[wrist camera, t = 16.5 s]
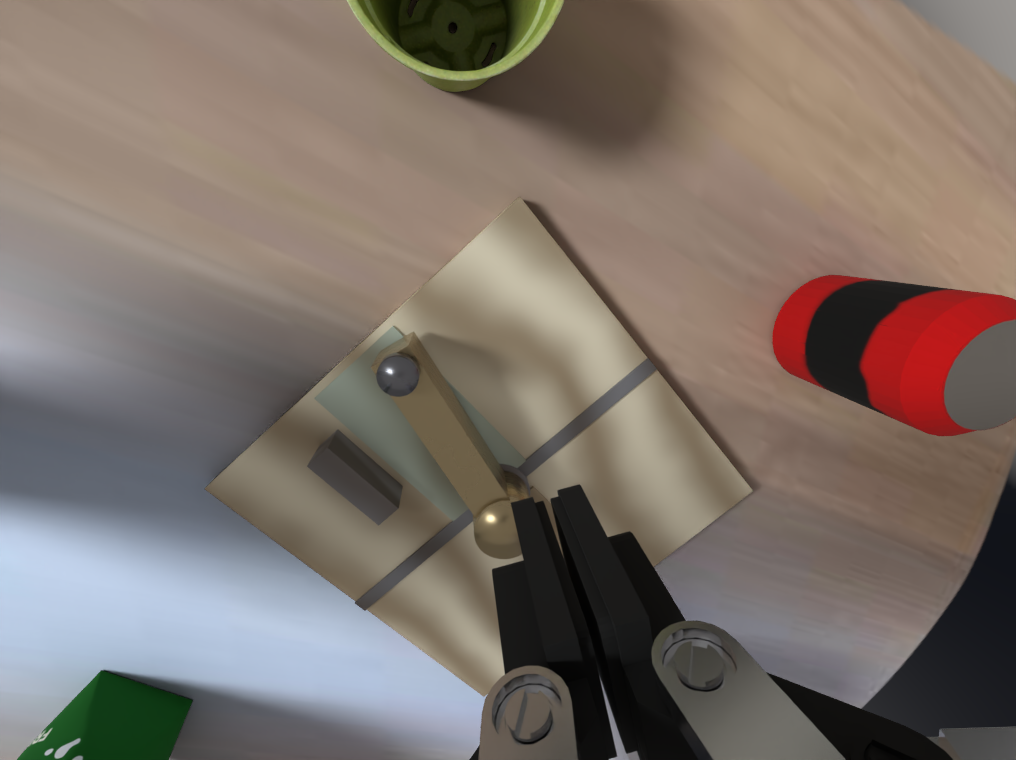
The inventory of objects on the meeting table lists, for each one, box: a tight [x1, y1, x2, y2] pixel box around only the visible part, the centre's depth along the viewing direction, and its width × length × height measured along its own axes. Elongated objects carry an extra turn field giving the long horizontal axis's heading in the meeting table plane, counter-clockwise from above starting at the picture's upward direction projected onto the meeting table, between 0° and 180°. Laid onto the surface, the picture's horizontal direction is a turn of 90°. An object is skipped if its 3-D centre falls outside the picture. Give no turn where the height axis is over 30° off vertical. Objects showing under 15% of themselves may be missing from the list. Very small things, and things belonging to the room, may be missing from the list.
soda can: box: [773, 275, 1016, 436], centre depth 29 cm, size 8×8×12 cm
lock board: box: [205, 197, 753, 696], centre depth 33 cm, size 28×28×4 cm
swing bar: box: [371, 331, 530, 559], centre depth 29 cm, size 15×4×5 cm, turn 29°
